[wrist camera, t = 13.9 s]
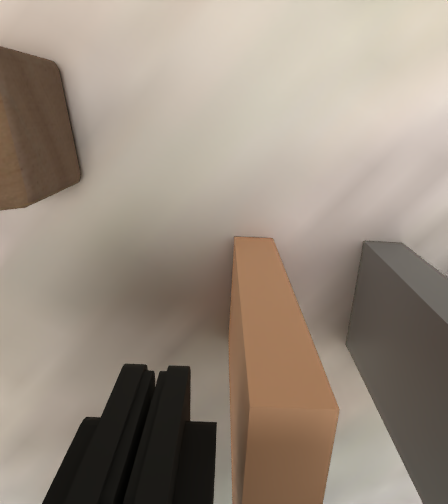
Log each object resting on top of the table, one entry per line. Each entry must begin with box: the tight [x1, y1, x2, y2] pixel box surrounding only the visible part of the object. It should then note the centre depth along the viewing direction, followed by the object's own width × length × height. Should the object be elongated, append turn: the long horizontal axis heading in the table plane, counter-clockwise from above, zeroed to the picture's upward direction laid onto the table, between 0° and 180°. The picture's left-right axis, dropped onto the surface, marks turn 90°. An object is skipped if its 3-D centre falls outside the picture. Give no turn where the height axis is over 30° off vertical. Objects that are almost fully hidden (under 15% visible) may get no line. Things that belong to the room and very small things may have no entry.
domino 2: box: [346, 241, 448, 504], centre depth 13 cm, size 5×2×10 cm, turn 177°
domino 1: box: [228, 237, 339, 504], centre depth 13 cm, size 5×2×10 cm, turn 177°
